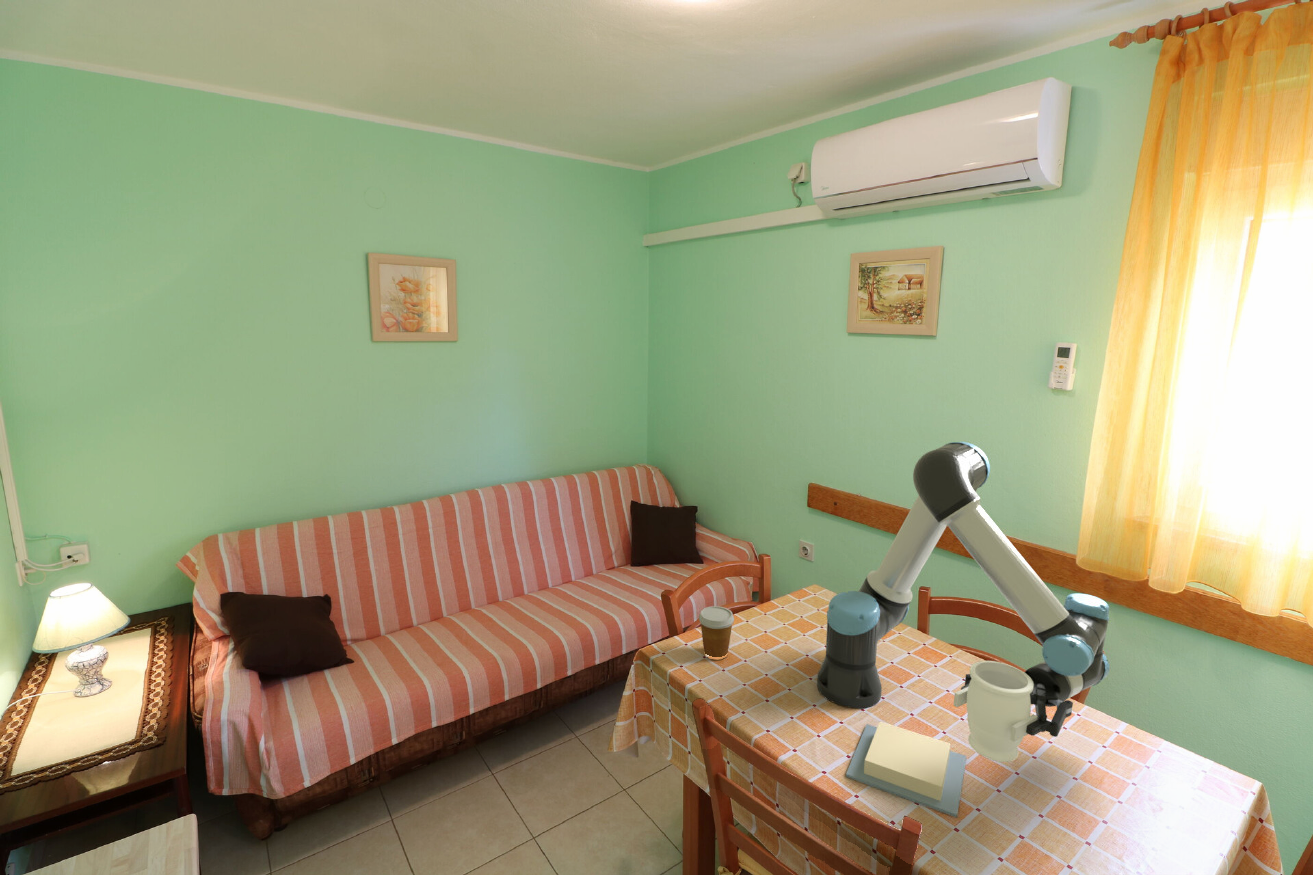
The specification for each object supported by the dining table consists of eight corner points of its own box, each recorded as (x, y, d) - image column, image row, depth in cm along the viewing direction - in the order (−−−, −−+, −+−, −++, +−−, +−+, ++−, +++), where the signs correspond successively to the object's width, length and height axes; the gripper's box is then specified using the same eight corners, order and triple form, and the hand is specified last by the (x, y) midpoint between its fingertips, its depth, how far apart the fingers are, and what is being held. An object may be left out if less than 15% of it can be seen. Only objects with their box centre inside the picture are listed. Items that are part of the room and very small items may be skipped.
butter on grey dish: (845, 776, 122) (846, 760, 122) (866, 726, 137) (867, 711, 137) (956, 817, 112) (958, 800, 111) (966, 758, 127) (967, 742, 127)
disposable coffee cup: (692, 657, 166) (692, 616, 163) (708, 642, 174) (708, 602, 171) (724, 667, 161) (725, 625, 158) (739, 651, 169) (740, 610, 166)
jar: (1023, 775, 109) (1033, 699, 106) (959, 754, 114) (967, 680, 111) (1025, 740, 118) (1034, 669, 115) (965, 722, 123) (972, 654, 120)
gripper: (1113, 731, 114) (1045, 773, 103) (994, 670, 134) (927, 701, 123) (1118, 695, 113) (1050, 734, 102) (998, 639, 132) (930, 667, 122)
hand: (983, 716), depth 112 cm, fingers closed on jar, 10 cm apart
